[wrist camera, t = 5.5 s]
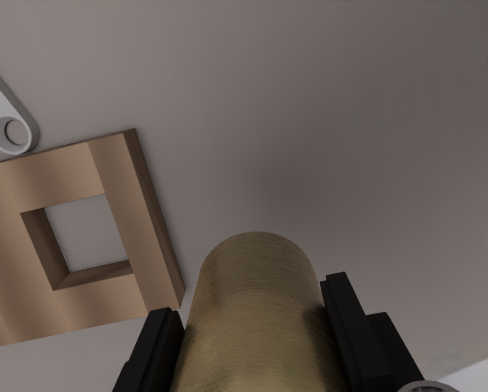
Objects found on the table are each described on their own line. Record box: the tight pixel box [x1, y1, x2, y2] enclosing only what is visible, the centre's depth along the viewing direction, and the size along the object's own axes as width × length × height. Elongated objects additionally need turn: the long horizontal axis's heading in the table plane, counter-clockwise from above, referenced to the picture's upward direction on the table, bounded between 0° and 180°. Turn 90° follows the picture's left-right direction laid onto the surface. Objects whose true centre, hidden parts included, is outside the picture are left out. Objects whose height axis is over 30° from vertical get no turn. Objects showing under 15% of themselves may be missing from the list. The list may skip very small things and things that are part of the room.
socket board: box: [0, 128, 186, 346], centre depth 26 cm, size 18×12×2 cm, turn 103°
